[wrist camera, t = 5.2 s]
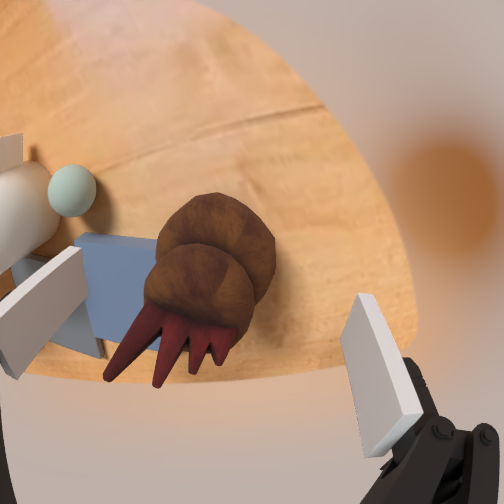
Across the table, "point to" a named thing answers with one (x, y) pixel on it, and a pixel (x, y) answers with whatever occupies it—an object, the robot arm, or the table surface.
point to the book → (115, 281)
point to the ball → (72, 190)
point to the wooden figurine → (200, 285)
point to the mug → (22, 203)
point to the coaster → (77, 324)
